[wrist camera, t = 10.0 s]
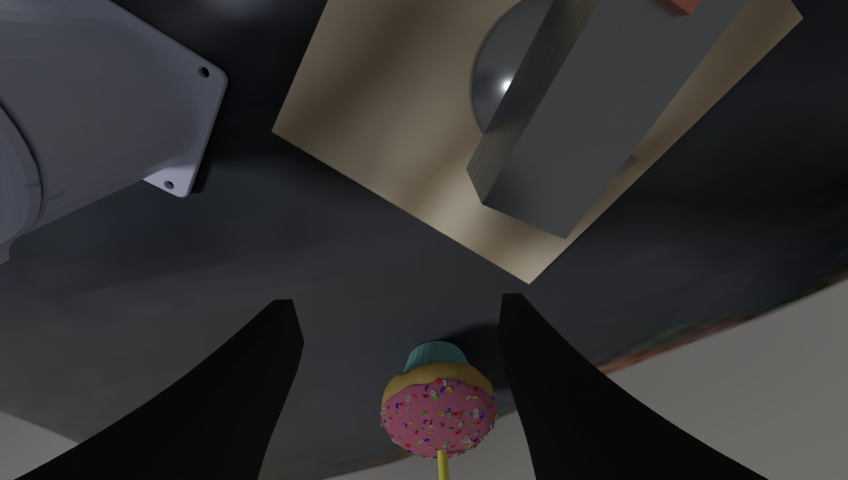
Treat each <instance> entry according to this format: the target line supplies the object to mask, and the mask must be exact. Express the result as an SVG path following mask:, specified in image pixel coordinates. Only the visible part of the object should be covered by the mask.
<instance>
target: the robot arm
mask: <svg viewBox="0 0 848 480" xmlns="http://www.w3.org/2000/svg"><path fill="white" fill-rule="evenodd" d="M203 67H205V68H206V69H207V70H208V71H209V77H206V76H205V75H204V74H203V72H202V69H203ZM227 84H228V79H227V76H226V74H225V72H224V71H222V70H221V69H220V68H218V67H217V66H215V65H213V64H212V63H210V62H209V61H207V60H205V59H204V58H202V57H201V56H199V55H197V54H196V53H194V52H192V51H191V50H189V49H188V48H186V47H184V46H183V45H181V44H180V43H178V42H176V41H175V40H173V39H172V38H170V37H168V36H167V35H165V34H164V33H162V32H160V31H159V30H157V29H155V28H154V27H152V26H151V25H149V24H147V23H146V22H144V21H143V20H141V19H139V18H138V17H136V16H135V15H133V14H131V13H130V12H128V11H127V10H125V9H123V8H122V7H120V6H118V5H117V4H115V3H114V2H112V1H110V0H0V264H2V263H4V262H6V261H8V260H9V253H8V251H9V246H10V244H11V243H12V241H14V240H15V239H16V238H17V237H19V236H21V235H24V234H26V233H28V232H30V231H32V230H35V229H37V228H39V227H41V226H43V225H45V224H47V223H50V222H52V221H54V220H56V219H58V218H60V217H62V216H65V215H67V214H69V213H71V212H73V211H75V210H77V209H80V208H82V207H84V206H86V205H88V204H90V203H92V202H95V201H97V200H99V199H101V198H103V197H105V196H107V195H110V194H112V193H114V192H116V191H118V190H120V189H122V188H125V187H127V186H129V185H131V184H133V183H135V182H137V181H140V180H142V179H143V180H145V181H147V182H149V183H151V184H153V185H155V186H157V187H159V188H161V189H163V190H166V191H168V192H170V193H172V194H174V195H176V196H178V197H185V196H187V195H188V194H189V193H190V192H191V189H192V186H193V183H194V181H195V178H196V175H197V172H198V169H199V166H200V163H201V160H202V157H203V154H204V151H205V149H206V146H207V143H208V140H209V137H210V134H211V131H212V128H213V125H214V122H215V119H216V116H217V114H218V111H219V108H220V105H221V102H222V99H223V96H224V93H225V90H226V87H227ZM169 181H170V182H172V183H173V185H174V187H173V186H171V185H170V184H169ZM497 338H498V344H499V349H500V354H501V359H502V363H503V367H504V370H505V373H506V377H507V380H508V383H509V386H510V389H511V392H512V395H513V398H514V401H515V404H516V407H517V410H518V413H519V416H520V419H521V423H522V426H523V428H524V432H525V435H526V439H527V442H528V446H529V451H530V455H531V459H532V464H533V468H534V472H535V476H536V480H768V479H766V478H765V477H763V476H761V475H759V474H757V473H756V472H754V471H752V470H750V469H749V468H747V467H745V466H743V465H741V464H740V463H738V462H736V461H734V460H732V459H730V458H729V457H727V456H725V455H723V454H722V453H720V452H718V451H716V450H714V449H713V448H711V447H709V446H708V445H706V444H705V443H703V442H701V441H700V440H698V439H696V438H695V437H693V436H692V435H690V434H688V433H686V432H685V431H683V430H682V429H680V428H678V427H677V426H675V425H674V424H672V423H671V422H669V421H668V420H666V419H664V418H663V417H662V416H660V415H659V414H657V413H656V412H654V411H653V410H651V409H650V408H649V407H647V406H646V405H644V404H643V403H641V402H640V401H638V400H637V399H636V398H634V397H633V396H632V395H630V394H629V393H627V392H626V391H625V390H623V389H622V388H621V387H619V386H618V385H617V384H616V383H614V382H613V381H612V380H611V379H609V378H608V377H607V376H606V375H604V374H603V373H602V372H600V371H599V370H598V369H597V368H596V367H595V366H593V365H592V364H591V363H590V362H589V361H588V360H586V359H585V358H584V357H583V356H582V355H581V354H580V353H579V352H578V351H576V350H575V349H574V348H573V347H572V346H571V345H570V344H569V343H568V342H567V341H566V340H565V339H564V338H563V337H562V336H561V335H560V334H559V333H558V332H557V331H556V330H555V329H554V328H553V327H552V326H551V325H550V324H549V323H548V322H547V321H546V320H545V319H544V318H543V317H542V316H541V314H540V313H539V312H538V311H537V310H536V309H535V308H534V307H533V306H532V305H531V304H530V303H529V301H528V300H527V299H526V298H525V297H524V296H523V295H522V294H521V293H514V294H503V297H502V305H501V312H500V320H499V327H498V335H497ZM303 346H304V339H303V336H302V332H301V329H300V325H299V322H298V318H297V315H296V311H295V307H294V304H293V300H292V299H286V300H274V301H272V302H271V303H270V304H269V305H268V306H266V307H265V308H264V309H263V310H262V311H261V312H260V313H258V314H257V315H256V316H255V317H254V318H253V319H252V320H251V321H250V322H248V323H247V324H246V325H245V326H244V327H243V328H242V329H240V330H239V331H238V332H237V333H236V334H235V335H234V336H232V337H231V338H230V339H229V340H228V341H227V342H226V343H224V344H223V345H222V346H221V347H220V348H218V349H217V350H216V351H215V352H213V353H212V354H211V355H210V356H208V357H207V358H206V359H205V360H204V361H202V362H201V363H200V364H199V365H197V366H196V367H195V368H194V369H192V370H191V371H190V372H189V373H187V374H186V375H185V376H183V377H182V378H181V379H179V380H178V381H176V382H175V383H174V384H172V385H171V386H170V387H168V388H167V389H165V390H164V391H162V392H161V393H160V394H158V395H157V396H155V397H154V398H152V399H151V400H150V401H148V402H147V403H145V404H143V405H142V406H140V407H139V408H137V409H136V410H134V411H132V412H131V413H129V414H128V415H126V416H125V417H123V418H122V419H120V420H118V421H117V422H115V423H114V424H112V425H111V426H109V427H107V428H106V429H104V430H103V431H101V432H99V433H98V434H96V435H94V436H92V437H91V438H89V439H87V440H86V441H84V442H82V443H80V444H79V445H77V446H76V447H74V448H72V449H70V450H68V451H66V452H65V453H63V454H61V455H59V456H58V457H56V458H54V459H52V460H51V461H49V462H47V463H45V464H43V465H41V466H39V467H38V468H36V469H34V470H32V471H30V472H28V473H26V474H25V475H22V476H20V477H19V478H17V479H15V480H257V479H258V476H259V472H260V469H261V466H262V462H263V459H264V455H265V452H266V449H267V447H268V444H269V441H270V438H271V436H272V433H273V431H274V428H275V426H276V423H277V421H278V418H279V415H280V413H281V410H282V408H283V405H284V403H285V400H286V398H287V395H288V393H289V390H290V388H291V385H292V383H293V380H294V377H295V375H296V372H297V369H298V365H299V362H300V358H301V354H302V350H303Z"/></svg>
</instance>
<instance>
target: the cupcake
mask: <svg viewBox="0 0 848 480" xmlns="http://www.w3.org/2000/svg"><path fill="white" fill-rule="evenodd" d="M496 409H497V403H496V400H495V398H494V394H493V388H492V384H491V383H490V381H489V380H488V379H487V378H486V377H484V376H483V375H482V374H481V373H480V372H479V371H478V370H477V369H476V368H474V367H473V366H471V365H469V363H468V361H467V360H466V358H465V356H464V354H463V352H462V351H461V349H460V348H458V347H457V346H456V345H454V344H452V343H449V342H445V341H431V342H426V343H424V344H421V345H419V346H418V347H416V348H415V349H414V350H413V351H412V352H411V354H410V356H409V359H408V362H407V364H406V367H405V369H404V371H403V373H399V374H397V375H396V376H395V377H394V378H393V379H392V380H391V381H390V382H389V383H388V385H387V387H386V389H385V392H384V395H383V400H382V412H381V413H380V414H381V415H382V417H381V421H382V422H381V426H382V427H385V429H386V431H387V433H388V434H389V435H390V436H391V437H392V441H393V440H394V441H393V442H394V443H396V444H399V445H400V446H401V448H402V449H403V450H406V449H407V450H408V452H412V453H414V454H416V455H419V456H423V457H433V458H438V465H439V479H440V480H449V469H448V458H451V456H454V455H455V456H458V455H459V454H460V453H461V454H463V453H464V452H465V451H466V450H470V449H473V448H475V447H476V446H477V445H478V444H479V443H480V441H481V440H483V439H484V437H486V436H487V435H488V432H489V431H490V430H491V429H490V428H492V429H493V428H494V423H495V422H494V419H495V418H496V417H497V412H496ZM382 423H383V425H382Z"/></svg>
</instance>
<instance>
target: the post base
mask: <svg viewBox="0 0 848 480" xmlns="http://www.w3.org/2000/svg"><path fill="white" fill-rule="evenodd" d="M519 1H521V0H328V1H327V4H326V6H325V8H324V11H323V13H322V15H321V18H320V20H319V22H318V25H317V27H316V29H315V32H314V34H313V36H312V39H311V41H310V43H309V45H308V48H307V50H306V52H305V55H304V57H303V59H302V62H301V64H300V66H299V69H298V71H297V73H296V76H295V78H294V80H293V83H292V85H291V87H290V90H289V92H288V94H287V97H286V99H285V101H284V104H283V106H282V108H281V111H280V113H279V115H278V118H277V120H276V122H275V124H274V127H273V129H272V131H271V132H273V133H275V134H276V135H278V136H280V137H281V138H283V139H285V140H286V141H288V142H290V143H292V144H293V145H295V146H297V147H298V148H300V149H302V150H303V151H305V152H307V153H308V154H310V155H312V156H314V157H315V158H317V159H319V160H320V161H322V162H324V163H325V164H327V165H329V166H330V167H332V168H334V169H335V170H337V171H339V172H341V173H342V174H344V175H346V176H347V177H349V178H351V179H352V180H354V181H356V182H357V183H359V184H361V185H362V186H364V187H366V188H368V189H369V190H371V191H373V192H374V193H376V194H378V195H379V196H381V197H383V198H384V199H386V200H388V201H389V202H391V203H393V204H395V205H396V206H398V207H400V208H401V209H403V210H405V211H406V212H408V213H410V214H411V215H413V216H415V217H417V218H418V219H420V220H422V221H423V222H425V223H427V224H428V225H430V226H432V227H433V228H435V229H437V230H438V231H440V232H442V233H444V234H445V235H447V236H449V237H450V238H452V239H454V240H455V241H457V242H459V243H460V244H462V245H464V246H465V247H467V248H469V249H471V250H472V251H474V252H476V253H477V254H479V255H481V256H482V257H484V258H486V259H487V260H489V261H491V262H493V263H494V264H496V265H498V266H499V267H501V268H503V269H504V270H506V271H508V272H509V273H511V274H513V275H514V276H516V277H518V278H520V279H521V280H523V281H525V282H526V283H528V284H530V283H531V282H532V281H533V280H534V279H535V278H536V277H537V276H538V275H539V274H540V273H541V272H542V271H543V270H544V269H545V268H546V267H547V266H548V265H549V264H550V263H552V262H553V261H554V260H555V259H556V258H557V257H558V256H559V255H560V254H561V253H562V252H563V251H564V250H565V249H566V248H567V247H568V246H569V245H570V244H571V243H572V242H573V241H574V240H575V239H576V238H577V237H578V236H579V235H580V234H581V233H582V232H583V231H584V230H586V229H587V228H588V227H589V226H590V225H591V224H592V223H593V222H594V221H595V220H596V219H597V218H598V217H599V216H600V215H601V214H602V213H603V212H604V211H605V210H606V209H607V208H608V207H609V206H610V205H611V204H612V203H613V202H614V201H615V200H616V199H617V198H619V197H620V196H621V195H622V194H623V193H624V192H625V191H626V190H627V189H628V188H629V187H630V186H631V185H632V184H633V183H634V182H635V181H636V180H637V179H638V178H639V177H640V176H641V175H642V174H643V173H644V172H645V171H646V170H647V169H648V168H649V167H650V166H652V165H653V164H654V163H655V162H656V161H657V160H658V159H659V158H660V157H661V156H662V155H663V154H664V153H665V152H666V151H667V150H668V149H669V148H670V147H671V146H672V145H673V144H674V143H675V142H676V141H677V140H678V139H679V138H680V137H681V136H682V135H683V134H685V133H686V132H687V131H688V130H689V129H690V128H691V127H692V126H693V125H694V124H695V123H696V122H697V121H698V120H699V119H700V118H701V117H702V116H703V115H704V114H705V113H706V112H707V111H708V110H709V109H710V108H711V107H712V106H713V105H714V104H715V103H716V102H718V101H719V100H720V99H721V98H722V97H723V96H724V95H725V94H726V93H727V92H728V91H729V90H730V89H731V88H732V87H733V86H734V85H735V84H736V83H737V82H738V81H739V80H740V79H741V78H742V77H743V76H744V75H745V74H746V73H747V72H748V71H749V70H751V69H752V68H753V67H754V66H755V65H756V64H757V63H758V62H759V61H760V60H761V59H762V58H763V57H764V56H765V55H766V54H767V53H768V52H769V51H770V50H771V49H772V48H773V47H774V46H775V45H776V44H777V43H778V42H779V41H780V40H781V39H782V38H784V37H785V36H786V35H787V34H788V33H789V32H790V31H791V30H792V29H793V28H794V27H795V26H796V25H797V24H798V23H799V22H800V21H801V20H802V19H803V17H802V15H801V14H800V13H799V11H798V10H797V8H796V7H795V6H794V4H793V3H792V1H791V0H748V1H747V2H746V3H745V5H744V6H743V7H742V9H741V10H740V11H739V13H738V14H737V15H736V16H735V18H734V19H733V20H732V22H731V23H730V24H729V26H728V27H727V28H726V30H725V31H724V32H723V34H722V35H721V36H720V37H719V39H718V40H717V41H716V43H715V44H714V45H713V47H712V48H711V49H710V51H709V52H708V53H707V55H706V56H705V57H704V59H703V60H702V61H701V62H700V64H699V65H698V66H697V68H696V69H695V70H694V72H693V73H692V74H691V76H690V77H689V78H688V80H687V81H686V82H685V83H684V85H683V86H682V87H681V89H680V90H679V91H678V93H677V94H676V95H675V97H674V98H673V99H672V101H671V102H670V103H669V105H668V106H667V107H666V108H665V110H664V111H663V112H662V114H661V115H660V116H659V118H658V119H657V120H656V122H655V123H654V124H653V126H652V127H651V128H650V129H649V131H648V132H647V133H646V135H645V136H644V137H643V139H642V140H641V141H640V143H639V144H638V145H637V147H636V148H635V149H634V151H633V152H632V153H631V154H630V156H629V157H628V158H627V160H626V161H625V162H624V164H623V165H622V166H621V168H620V169H619V170H618V172H617V173H616V174H615V175H614V177H613V178H612V179H611V181H610V182H609V183H608V185H607V186H606V187H605V189H604V190H603V191H602V193H601V194H600V195H599V196H598V198H597V199H596V200H595V202H594V203H593V204H592V206H591V207H590V208H589V210H588V211H587V212H586V214H585V215H584V216H583V218H582V219H581V220H580V221H579V223H578V224H577V225H576V227H575V228H574V229H573V231H572V232H571V233H570V235H569V236H568V237H567V239H566V240H565V239H563V238H560V237H558V236H556V235H553V234H551V233H549V232H546V231H544V230H541V229H539V228H537V227H534V226H532V225H530V224H527V223H525V222H522V221H520V220H518V219H515V218H513V217H511V216H508V215H506V214H503V213H501V212H499V211H496V210H494V209H492V208H489V207H487V206H485V205H482V204H481V202H480V199H479V197H478V195H477V193H476V190H475V188H474V186H473V183H472V181H471V179H470V177H469V174H468V172H467V170H466V167H467V165H468V163H469V161H470V160H471V158H472V156H473V154H474V152H475V150H476V148H477V146H478V144H479V142H480V140H481V139H482V137H483V134H482V133H481V132H480V130H479V128H478V126H477V124H476V123H475V120H474V117H473V114H472V110H471V106H470V98H469V81H470V74H471V69H472V65H473V61H474V58H475V56H476V53H477V50H478V48H479V46H480V44H481V42H482V40H483V38H484V37H485V35H486V34H487V32H488V31H489V29H490V28H491V26H492V25H493V24H494V23H495V22H496V21H497V19H498V18H499V17H500V16H501V15H502V14H503V13H505V12H506V11H507V10H508V9H509V8H510V7H512V6H513V5H515V4H516V3H517V2H519Z"/></svg>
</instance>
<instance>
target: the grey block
mask: <svg viewBox="0 0 848 480" xmlns="http://www.w3.org/2000/svg"><path fill="white" fill-rule="evenodd" d="M747 1H748V0H521V1H519V2H517V3H516V4H515V5H513V6H512V7H510V8H509V9H508V10H507V11H506V12H505V13H503V14H502V15H501V16H500V17H499V18H498V19H497V21H496V22H495V23H494V24H493V25H492V26H491V28H490V29H489V31H488V32H487V34H486V35H485V37H484V38H483V40H482V42H481V44H480V46H479V48H478V50H477V53H476V56H475V58H474V61H473V65H472V69H471V74H470V81H469V98H470V106H471V110H472V114H473V117H474V120H475V123H476V124H477V126H478V128H479V130H480V132H481V133H482V134H483V137H482V139H481V140H480V142H479V144H478V146H477V148H476V150H475V152H474V154H473V156H472V158H471V160H470V161H469V163H468V165H467V167H466V170H467V172H468V174H469V177H470V179H471V181H472V183H473V186H474V188H475V190H476V193H477V195H478V197H479V199H480V202H481V204H482V205H485V206H487V207H489V208H492V209H494V210H496V211H499V212H501V213H503V214H506V215H508V216H511V217H513V218H515V219H518V220H520V221H522V222H525V223H527V224H530V225H532V226H534V227H537V228H539V229H541V230H544V231H546V232H549V233H551V234H553V235H556V236H558V237H560V238H563V239H565V240H566V239H567V237H568V236H569V235H570V233H571V232H572V231H573V229H574V228H575V227H576V225H577V224H578V223H579V221H580V220H581V219H582V218H583V216H584V215H585V214H586V212H587V211H588V210H589V208H590V207H591V206H592V204H593V203H594V202H595V200H596V199H597V198H598V196H599V195H600V194H601V193H602V191H603V190H604V189H605V187H606V186H607V185H608V183H609V182H610V181H611V179H612V178H613V177H614V175H615V174H616V173H617V172H618V170H619V169H620V168H621V166H622V165H623V164H624V162H625V161H626V160H627V158H628V157H629V156H630V154H631V153H632V152H633V151H634V149H635V148H636V147H637V145H638V144H639V143H640V141H641V140H642V139H643V137H644V136H645V135H646V133H647V132H648V131H649V129H650V128H651V127H652V126H653V124H654V123H655V122H656V120H657V119H658V118H659V116H660V115H661V114H662V112H663V111H664V110H665V108H666V107H667V106H668V105H669V103H670V102H671V101H672V99H673V98H674V97H675V95H676V94H677V93H678V91H679V90H680V89H681V87H682V86H683V85H684V83H685V82H686V81H687V80H688V78H689V77H690V76H691V74H692V73H693V72H694V70H695V69H696V68H697V66H698V65H699V64H700V62H701V61H702V60H703V59H704V57H705V56H706V55H707V53H708V52H709V51H710V49H711V48H712V47H713V45H714V44H715V43H716V41H717V40H718V39H719V37H720V36H721V35H722V34H723V32H724V31H725V30H726V28H727V27H728V26H729V24H730V23H731V22H732V20H733V19H734V18H735V16H736V15H737V14H738V13H739V11H740V10H741V9H742V7H743V6H744V5H745V3H746V2H747Z"/></svg>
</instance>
